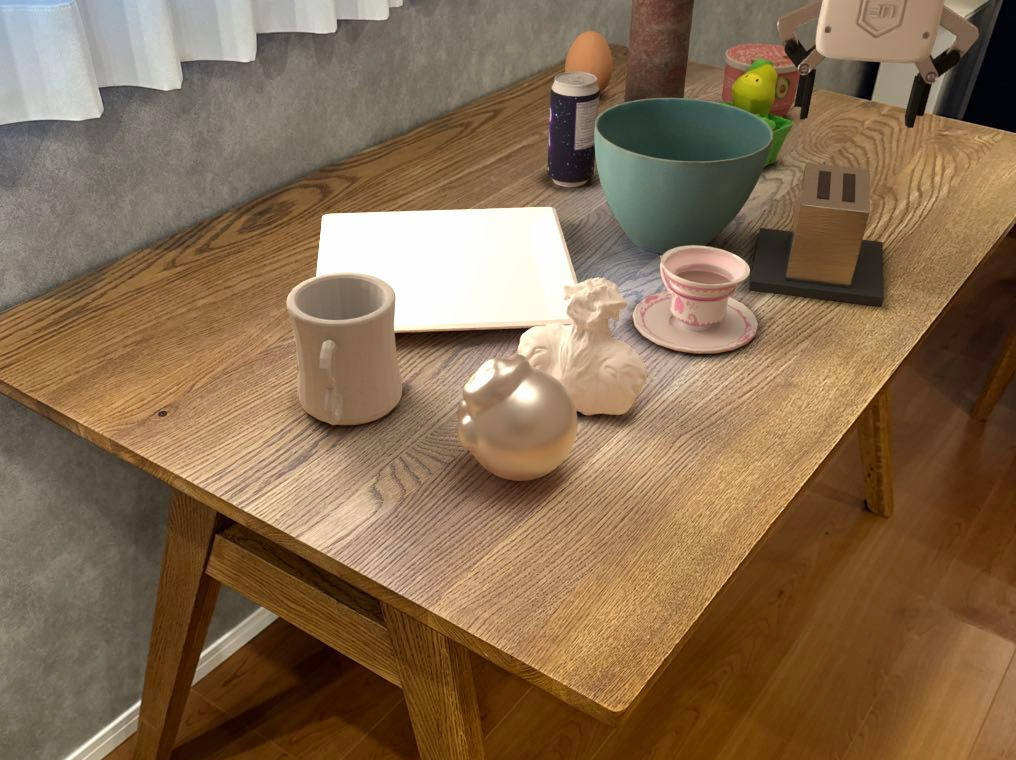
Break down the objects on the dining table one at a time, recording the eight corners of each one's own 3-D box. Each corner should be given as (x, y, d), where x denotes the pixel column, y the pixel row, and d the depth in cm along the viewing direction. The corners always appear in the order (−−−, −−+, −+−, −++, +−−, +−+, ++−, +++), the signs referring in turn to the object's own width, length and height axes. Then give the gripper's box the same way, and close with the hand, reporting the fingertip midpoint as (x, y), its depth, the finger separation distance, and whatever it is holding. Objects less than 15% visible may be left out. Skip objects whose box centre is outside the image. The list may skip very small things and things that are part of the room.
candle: (636, 172, 127) (654, -5, 114) (607, 152, 132) (621, -20, 119) (688, 162, 129) (712, -12, 116) (657, 142, 134) (677, -27, 121)
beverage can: (586, 169, 128) (593, 68, 120) (598, 187, 123) (606, 84, 116) (542, 173, 127) (546, 71, 119) (552, 191, 123) (557, 87, 115)
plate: (588, 340, 97) (590, 320, 95) (312, 350, 95) (310, 331, 94) (554, 222, 116) (554, 204, 115) (324, 229, 115) (322, 212, 114)
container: (711, 124, 139) (720, 62, 134) (721, 99, 147) (730, 40, 141) (790, 132, 137) (802, 70, 132) (796, 107, 144) (808, 46, 139)
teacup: (781, 323, 99) (794, 264, 95) (709, 370, 93) (720, 310, 89) (680, 282, 105) (688, 225, 101) (606, 324, 99) (612, 265, 95)
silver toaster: (784, 280, 104) (800, 204, 98) (791, 231, 112) (806, 158, 107) (849, 288, 102) (870, 211, 97) (851, 237, 111) (870, 164, 105)
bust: (642, 434, 89) (685, 308, 88) (618, 424, 82) (665, 288, 81) (521, 395, 94) (561, 275, 92) (489, 383, 87) (531, 254, 85)
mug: (311, 368, 93) (299, 268, 86) (410, 374, 92) (404, 272, 86) (278, 449, 84) (261, 343, 77) (387, 456, 83) (379, 349, 77)
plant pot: (748, 209, 119) (767, 101, 111) (756, 283, 105) (779, 165, 97) (592, 200, 121) (600, 93, 113) (580, 271, 107) (589, 155, 99)
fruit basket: (679, 153, 132) (691, 61, 124) (721, 136, 136) (736, 46, 128) (752, 179, 125) (769, 83, 118) (794, 161, 130) (813, 67, 122)
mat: (880, 250, 111) (882, 241, 110) (880, 306, 101) (883, 297, 101) (758, 236, 113) (760, 227, 113) (748, 289, 104) (750, 280, 103)
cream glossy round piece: (501, 422, 87) (502, 317, 80) (594, 462, 82) (604, 355, 76) (434, 473, 81) (429, 366, 75) (530, 520, 77) (535, 410, 70)
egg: (609, 90, 150) (615, 25, 144) (610, 106, 145) (615, 39, 139) (563, 89, 150) (567, 24, 144) (562, 105, 145) (566, 38, 139)
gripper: (793, -83, 85) (760, 125, 96) (1017, -76, 81) (954, 140, 93) (798, -101, 90) (765, 99, 102) (1008, -94, 87) (949, 112, 98)
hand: (855, 118), depth 97 cm, fingers open, 9 cm apart
